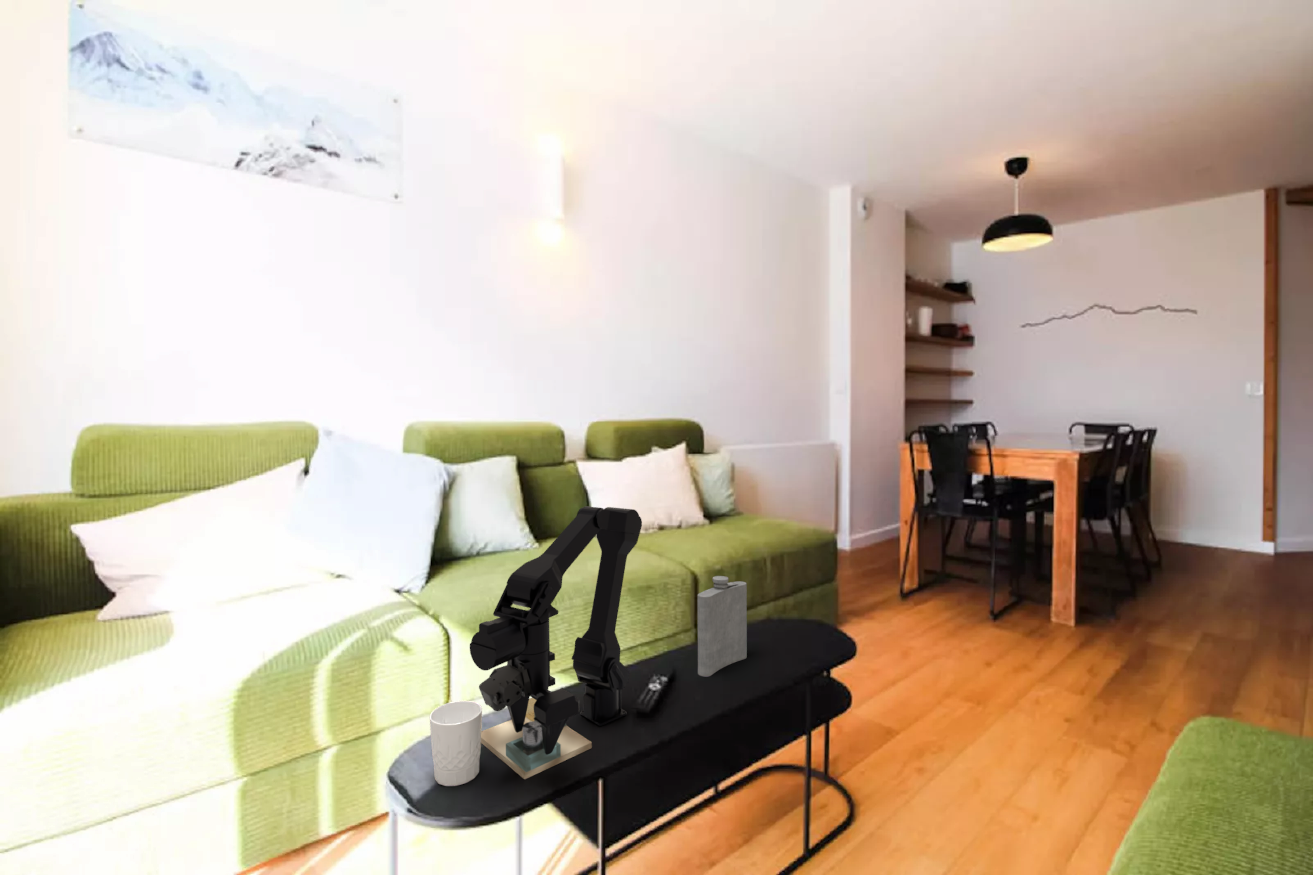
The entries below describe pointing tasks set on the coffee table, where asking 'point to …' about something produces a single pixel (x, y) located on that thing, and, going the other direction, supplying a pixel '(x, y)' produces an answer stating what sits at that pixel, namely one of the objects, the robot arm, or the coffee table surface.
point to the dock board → (511, 752)
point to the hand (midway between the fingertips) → (533, 742)
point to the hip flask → (722, 625)
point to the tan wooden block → (530, 709)
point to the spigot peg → (532, 737)
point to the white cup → (456, 741)
